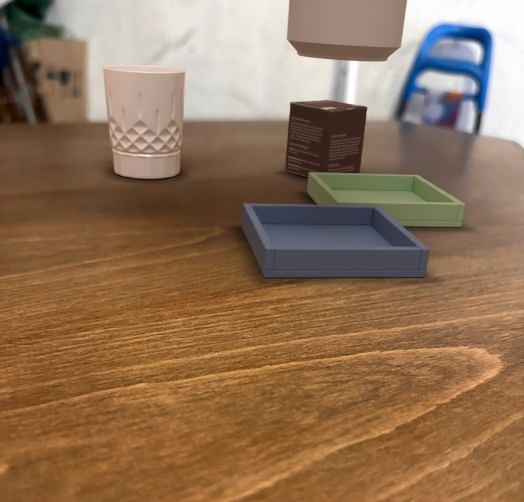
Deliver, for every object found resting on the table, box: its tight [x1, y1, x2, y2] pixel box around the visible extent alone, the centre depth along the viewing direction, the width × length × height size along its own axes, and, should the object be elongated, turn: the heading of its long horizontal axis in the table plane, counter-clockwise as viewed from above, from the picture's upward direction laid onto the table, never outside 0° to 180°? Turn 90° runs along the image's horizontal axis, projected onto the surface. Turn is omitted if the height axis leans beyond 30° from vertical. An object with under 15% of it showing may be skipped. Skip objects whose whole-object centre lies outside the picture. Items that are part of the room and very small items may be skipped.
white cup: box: [102, 64, 186, 180], centre depth 67 cm, size 8×8×10 cm
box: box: [284, 99, 368, 178], centre depth 72 cm, size 6×6×7 cm
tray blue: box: [241, 202, 431, 279], centre depth 49 cm, size 11×11×2 cm
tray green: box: [306, 172, 466, 228], centre depth 61 cm, size 11×11×2 cm
